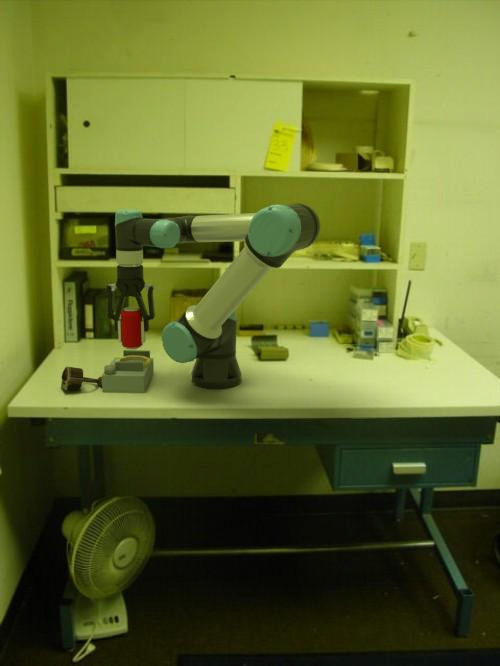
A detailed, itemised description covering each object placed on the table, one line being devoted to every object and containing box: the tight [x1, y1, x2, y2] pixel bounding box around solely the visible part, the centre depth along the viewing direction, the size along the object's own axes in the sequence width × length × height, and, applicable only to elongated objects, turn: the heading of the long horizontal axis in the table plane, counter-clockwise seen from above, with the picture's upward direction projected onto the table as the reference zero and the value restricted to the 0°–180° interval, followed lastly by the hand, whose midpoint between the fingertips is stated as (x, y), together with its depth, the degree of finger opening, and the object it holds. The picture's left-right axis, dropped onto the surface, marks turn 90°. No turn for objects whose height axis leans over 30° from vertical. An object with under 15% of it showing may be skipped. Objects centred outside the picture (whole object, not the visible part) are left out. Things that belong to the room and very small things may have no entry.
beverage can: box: [120, 306, 144, 350], centre depth 182 cm, size 6×6×12 cm
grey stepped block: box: [101, 349, 155, 394], centre depth 183 cm, size 12×17×8 cm
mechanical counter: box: [60, 365, 102, 391], centre depth 178 cm, size 7×13×10 cm
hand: (132, 341), depth 183 cm, fingers closed on beverage can, 6 cm apart
